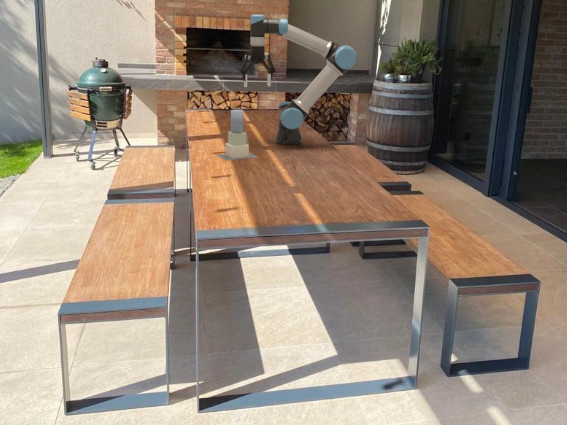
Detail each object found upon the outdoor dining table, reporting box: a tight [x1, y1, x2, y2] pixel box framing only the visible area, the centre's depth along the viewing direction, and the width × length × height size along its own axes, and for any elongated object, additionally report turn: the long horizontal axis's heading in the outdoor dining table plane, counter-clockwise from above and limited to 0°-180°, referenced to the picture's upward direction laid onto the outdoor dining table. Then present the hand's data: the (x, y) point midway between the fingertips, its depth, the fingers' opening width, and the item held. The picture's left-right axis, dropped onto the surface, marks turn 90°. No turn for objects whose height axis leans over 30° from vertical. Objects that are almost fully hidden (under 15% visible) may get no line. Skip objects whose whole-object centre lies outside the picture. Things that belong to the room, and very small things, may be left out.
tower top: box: [227, 131, 247, 146], centre depth 323 cm, size 7×7×6 cm
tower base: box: [225, 142, 250, 159], centre depth 325 cm, size 9×9×6 cm
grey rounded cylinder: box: [230, 109, 244, 134], centre depth 320 cm, size 6×6×11 cm
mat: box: [216, 152, 260, 161], centre depth 326 cm, size 18×14×1 cm
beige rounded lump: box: [243, 131, 250, 146], centre depth 345 cm, size 10×10×10 cm
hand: (257, 86), depth 342 cm, fingers open, 13 cm apart
